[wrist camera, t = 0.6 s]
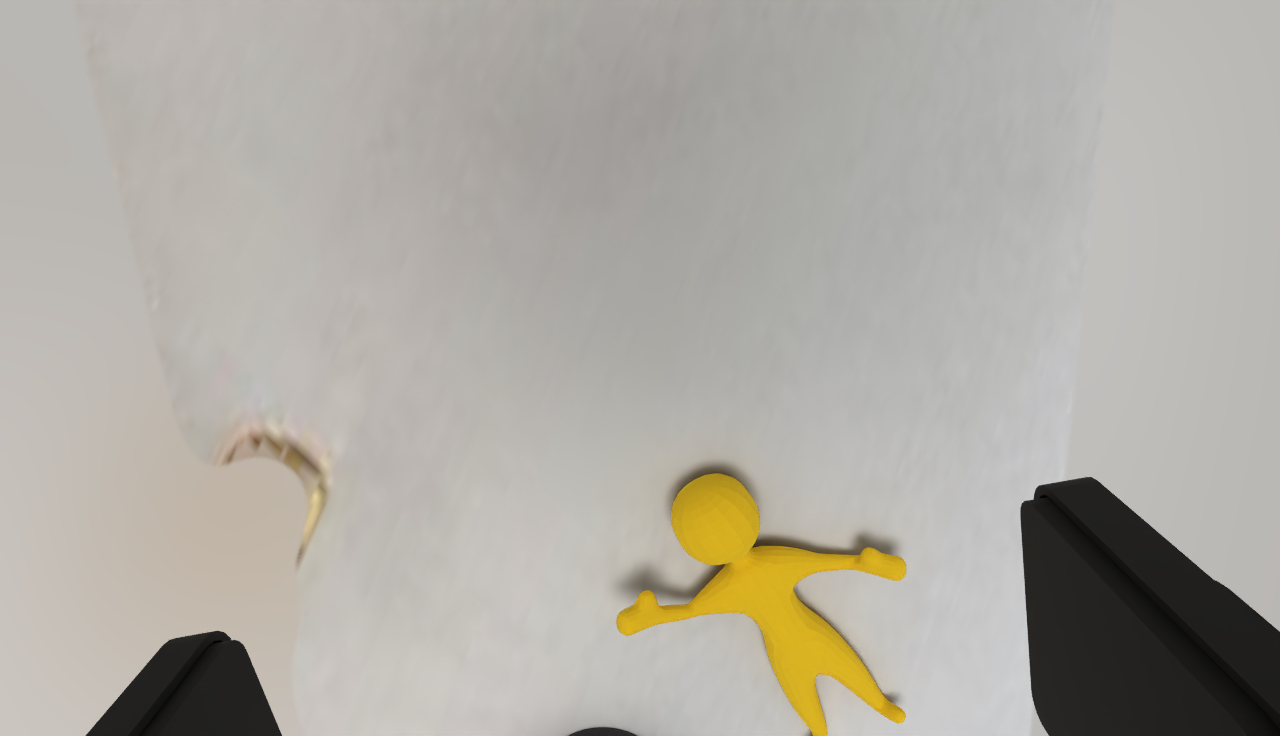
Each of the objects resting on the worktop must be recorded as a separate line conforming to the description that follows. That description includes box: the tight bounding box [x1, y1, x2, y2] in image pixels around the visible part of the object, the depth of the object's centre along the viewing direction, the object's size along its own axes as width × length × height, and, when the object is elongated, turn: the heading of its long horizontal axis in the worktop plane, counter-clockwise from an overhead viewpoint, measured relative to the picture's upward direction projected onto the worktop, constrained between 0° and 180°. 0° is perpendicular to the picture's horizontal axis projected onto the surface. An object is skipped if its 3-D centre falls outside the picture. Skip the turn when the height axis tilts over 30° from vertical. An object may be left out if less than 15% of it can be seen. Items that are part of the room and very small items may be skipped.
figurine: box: [616, 473, 906, 736], centre depth 43 cm, size 14×5×18 cm
